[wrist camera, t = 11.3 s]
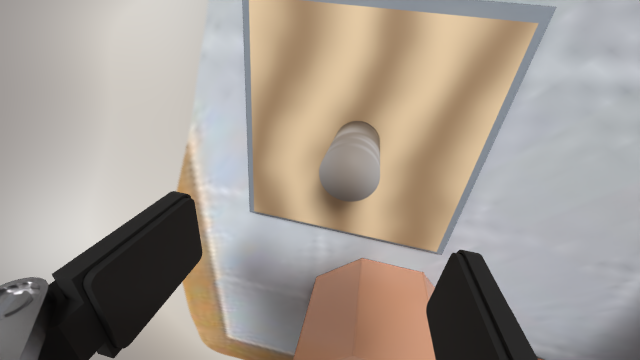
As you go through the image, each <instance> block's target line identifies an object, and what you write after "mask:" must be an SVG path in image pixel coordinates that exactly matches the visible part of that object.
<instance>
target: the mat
mask: <svg viewBox="0 0 640 360" xmlns="http://www.w3.org/2000/svg"><path fill="white" fill-rule="evenodd" d="M303 1H314V2H324V3H334V4H345V5H355V6H365V7H376V8H386V9H396V10H407V11H417V12H427V13H438V14H448V15H458V16H469V17H479V18H489V19H500V20H510V21H520V22H531V23H539V24H538V26H537V28H536V30H535V33H534V35H533V37H532V39H531V41H530V44H529V46H528V48H527V50H526V53H525V55H524V57H523V59H522V62H521V64H520V66H519V68H518V71H517V73H516V75H515V77H514V80H513V82H512V84H511V86H510V88H509V91H508V93H507V95H506V97H505V100H504V102H503V104H502V106H501V109H500V111H499V113H498V115H497V118H496V120H495V122H494V124H493V127H492V129H491V131H490V133H489V136H488V138H487V140H486V142H485V144H484V147H483V149H482V151H481V153H480V156H479V158H478V160H477V162H476V165H475V167H474V169H473V171H472V174H471V176H470V178H469V180H468V183H467V185H466V187H465V189H464V192H463V194H462V196H461V198H460V200H459V203H458V205H457V207H456V209H455V212H454V214H453V216H452V218H451V221H450V223H449V225H448V227H447V230H446V232H445V234H444V236H443V239H442V241H441V243H440V245H439V247H438V250H437V252H434V251H430V250H425V249H421V248H417V247H412V246H408V245H403V244H399V243H394V242H390V241H385V240H381V239H376V238H372V237H367V236H363V235H358V234H354V233H349V232H345V231H340V230H336V229H332V228H327V227H323V226H318V225H314V224H309V223H305V222H300V221H296V220H291V219H287V218H282V217H278V216H273V215H269V214H264V213H260V212H255V211H254V185H253V145H252V104H251V64H250V24H249V0H242V5H243V34H244V62H245V90H246V119H247V147H248V175H249V204H250V212H253V213H258V214H262V215H267V216H271V217H276V218H280V219H285V220H289V221H294V222H298V223H303V224H307V225H311V226H316V227H320V228H325V229H329V230H334V231H338V232H343V233H347V234H352V235H356V236H361V237H365V238H369V239H374V240H378V241H383V242H387V243H392V244H396V245H401V246H405V247H410V248H414V249H418V250H423V251H427V252H432V253H436V254H441V255H442V253H443V251H444V249H445V247H446V244H447V242H448V240H449V238H450V236H451V234H452V232H453V229H454V227H455V225H456V223H457V221H458V219H459V216H460V214H461V212H462V210H463V208H464V206H465V203H466V201H467V199H468V197H469V195H470V193H471V191H472V188H473V186H474V184H475V182H476V180H477V178H478V175H479V173H480V171H481V169H482V167H483V165H484V162H485V160H486V158H487V156H488V154H489V152H490V150H491V147H492V145H493V143H494V141H495V139H496V137H497V134H498V132H499V130H500V128H501V126H502V124H503V121H504V119H505V117H506V115H507V113H508V111H509V109H510V106H511V104H512V102H513V100H514V98H515V96H516V93H517V91H518V89H519V87H520V85H521V83H522V81H523V78H524V76H525V74H526V72H527V70H528V68H529V65H530V63H531V61H532V59H533V57H534V55H535V52H536V50H537V48H538V46H539V44H540V42H541V40H542V37H543V35H544V33H545V31H546V29H547V27H548V24H549V22H550V20H551V18H552V16H553V14H554V11H555V9H556V7H552V6H541V5H530V4H518V3H507V2H495V1H484V0H303Z"/></svg>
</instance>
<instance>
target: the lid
mask: <svg viewBox="0 0 640 360" xmlns="http://www.w3.org/2000/svg"><path fill="white" fill-rule="evenodd" d="M249 24H250V64H251V104H252V145H253V185H254V211H255V212H260V213H264V214H269V215H273V216H278V217H282V218H287V219H291V220H296V221H300V222H305V223H309V224H314V225H318V226H323V227H327V228H332V229H336V230H340V231H345V232H349V233H354V234H358V235H363V236H367V237H372V238H376V239H381V240H385V241H390V242H394V243H399V244H403V245H408V246H412V247H417V248H421V249H425V250H430V251H434V252H437V250H438V247H439V245H440V243H441V241H442V239H443V236H444V234H445V232H446V230H447V227H448V225H449V223H450V221H451V218H452V216H453V214H454V212H455V209H456V207H457V205H458V203H459V200H460V198H461V196H462V194H463V192H464V189H465V187H466V185H467V183H468V180H469V178H470V176H471V174H472V171H473V169H474V167H475V165H476V162H477V160H478V158H479V156H480V153H481V151H482V149H483V147H484V144H485V142H486V140H487V138H488V136H489V133H490V131H491V129H492V127H493V124H494V122H495V120H496V118H497V115H498V113H499V111H500V109H501V106H502V104H503V102H504V100H505V97H506V95H507V93H508V91H509V88H510V86H511V84H512V82H513V80H514V77H515V75H516V73H517V71H518V68H519V66H520V64H521V62H522V59H523V57H524V55H525V53H526V50H527V48H528V46H529V44H530V41H531V39H532V37H533V35H534V33H535V30H536V28H537V26H538V24H539V23H531V22H520V21H510V20H500V19H489V18H479V17H469V16H458V15H448V14H438V13H427V12H417V11H407V10H396V9H386V8H376V7H365V6H355V5H345V4H334V3H324V2H314V1H303V0H249Z"/></svg>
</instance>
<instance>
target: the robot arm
mask: <svg viewBox="0 0 640 360" xmlns="http://www.w3.org/2000/svg"><path fill="white" fill-rule="evenodd" d="M201 256H202V246H201V240H200V234H199V227H198V221H197V215H196V209H195V203H194V200H193V199H191V196H190V195H188V194H185V193H180V192H175V191H173V192H170V193H168V194H167V195H166V196H164V197H163V198H161V199H160V200H158V201H157V202H155V203H154V204H153V205H151V206H150V207H148V208H147V209H145V210H144V211H142V212H141V213H139V214H138V215H137V216H135V217H134V218H132V219H131V220H129V221H128V222H126V223H125V224H124V225H122V226H121V227H119V228H118V229H116V230H115V231H114V232H112V233H111V234H110V235H108V236H106V237H105V238H103V239H102V240H101V241H99V242H98V243H96V244H95V245H93V246H92V247H90V248H89V249H88V250H86V251H85V252H83V253H82V254H80V255H79V256H77V257H76V258H75V259H73V260H72V261H70V262H69V263H67V264H66V265H64V266H63V267H62V268H60V269H59V270H57V271H56V272H54V273H53V274H52V276H53V277H54V279H55V281H54V282H52V283H51V284H50V285H48V283H47V281H46V280H44V279H42V278H34V277H30V278H23V279H18V280H15V281H11V282H8V283H5V284H3V285H1V286H0V360H89V359H90V358H91V357H92V356H93V355H94V354H95V352H96V351H97V353H98V354H101V355H104V356H107V357H111V358H115V356H116V355H117V354H118V353H119V352H120V350H121V349H122V348H126V347H127V346H129V345H130V344H131V343H132V342H133V340H134V339H135V338H136V337H137V335H138V334H139V333H140V332H141V331H142V329H143V328H144V327H145V326H146V325H147V323H148V322H149V321H150V320H151V318H152V317H153V316H154V315H155V314H156V312H157V311H158V310H159V309H160V308H161V307H162V305H163V304H164V303H165V302H166V300H167V299H168V298H169V297H170V296H171V294H172V293H173V292H174V291H175V290H176V288H177V287H178V286H179V285H180V284H181V282H182V281H183V280H184V279H185V278H186V276H187V275H188V274H189V273H190V272H191V270H192V269H193V268H194V267H195V266H196V264H197V263H198V262H199V261H200V259H201ZM426 314H427V320H428V325H429V329H430V334H431V339H432V344H433V349H434V354H435V359H436V360H538V359H537V357H536V355H535V353H534V351H533V350H532V348H531V346H530V344H529V342H528V340H527V338H526V337H525V335H524V333H523V331H522V329H521V327H520V325H519V324H518V322H517V320H516V318H515V316H514V314H513V312H512V310H511V309H510V307H509V306H508V304H507V302H506V300H505V298H504V296H503V294H502V293H501V291H500V289H499V287H498V285H497V283H496V281H495V279H494V278H493V276H492V274H491V272H490V270H489V268H488V266H487V265H486V263H485V261H484V259H483V257H482V256H481V254H479V253H474V252H469V251H465V250H459V251H458V252H457V253H452V254H451V256H450V258H449V260H448V262H447V264H446V266H445V268H444V270H443V272H442V274H441V276H440V279H439V281H438V283H437V285H436V287H435V289H434V291H433V293H432V295H431V297H430V299H429V301H428V303H427V307H426Z"/></svg>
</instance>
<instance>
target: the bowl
mask: <svg viewBox="0 0 640 360" xmlns="http://www.w3.org/2000/svg"><path fill="white" fill-rule="evenodd" d="M434 289H435V287H434V286H433V285H432V284H431V282H430V281H429V280H428V278H427V277H426V276H425V275H424V273H423V272H419V271H414V270H410V269H406V268H402V267H397V266H393V265H389V264H385V263H380V262H376V261H372V260H368V259H364V258H361V259H359V260H356V261H354V262H351V263H349V264H347V265H344V266H342V267H339V268H337V269H335V270H332V271H330V272H327V273H325V274H322V275H320V276H317V277H316V281H315V284H314V288H313V291H312V295H311V298H310V302H309V305H308V309H307V312H306V316H305V319H304V323H303V326H302V330H301V334H300V337H299V341H298V344H297V348H296V351H295V355H294V358H293V360H436V359H435V354H434V349H433V344H432V339H431V334H430V329H429V325H428V320H427V314H426V307H427V303H428V301H429V299H430V297H431V295H432V293H433V291H434Z"/></svg>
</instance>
